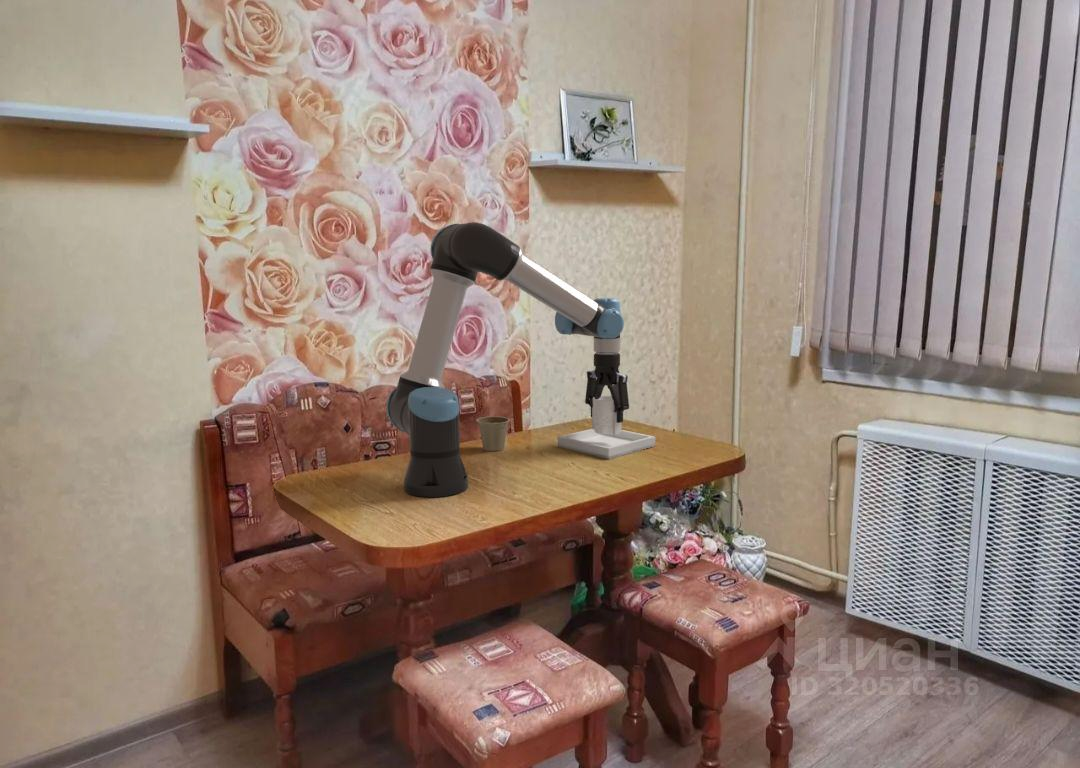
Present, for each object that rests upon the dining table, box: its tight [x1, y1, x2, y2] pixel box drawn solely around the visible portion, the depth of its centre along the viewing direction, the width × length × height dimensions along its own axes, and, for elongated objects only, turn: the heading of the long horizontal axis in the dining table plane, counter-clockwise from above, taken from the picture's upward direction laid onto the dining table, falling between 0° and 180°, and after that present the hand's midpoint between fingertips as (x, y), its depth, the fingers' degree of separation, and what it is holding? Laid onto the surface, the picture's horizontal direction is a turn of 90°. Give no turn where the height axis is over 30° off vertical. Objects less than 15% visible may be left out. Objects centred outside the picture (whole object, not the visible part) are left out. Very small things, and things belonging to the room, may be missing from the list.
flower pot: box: [476, 415, 511, 452], centre depth 214 cm, size 9×9×9 cm
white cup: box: [593, 395, 615, 434], centre depth 215 cm, size 8×8×10 cm
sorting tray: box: [557, 428, 656, 460], centre depth 216 cm, size 20×20×3 cm
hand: (606, 431), depth 216 cm, fingers closed on white cup, 7 cm apart
